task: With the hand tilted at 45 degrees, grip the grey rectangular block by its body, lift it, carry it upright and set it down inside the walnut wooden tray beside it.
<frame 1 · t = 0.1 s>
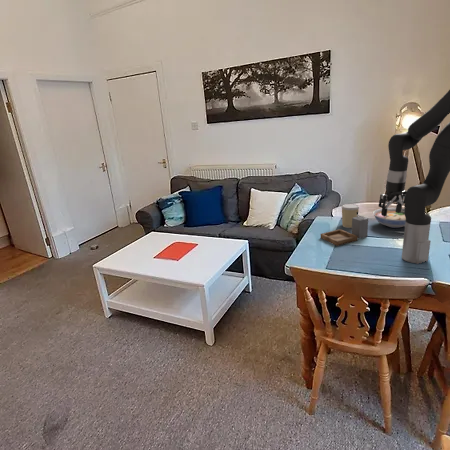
hand: (391, 214, 147), 17 cm above the table, tool pointing down, fingers open, 8 cm apart
grey rectangular block: (359, 235, 170), on the table
coffee cup: (349, 226, 186), on the table
ramen bowl: (393, 226, 180), on the table
tray: (338, 239, 168), on the table
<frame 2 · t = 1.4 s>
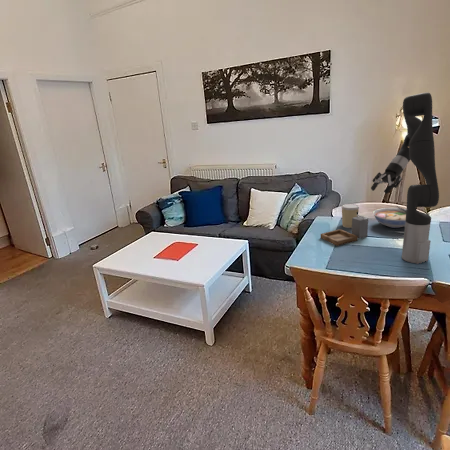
hand: (378, 191, 167), 22 cm above the table, tool tilted 45°, fingers open, 8 cm apart
nothing on the table moved.
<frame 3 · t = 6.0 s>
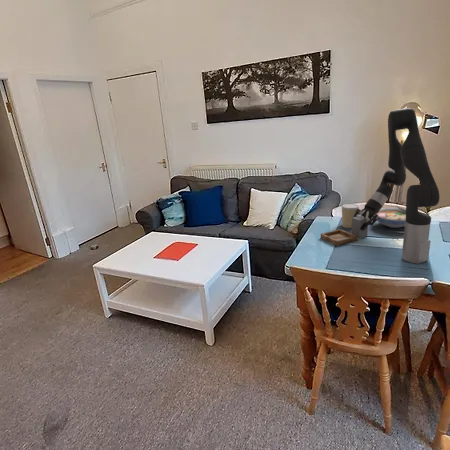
hand: (357, 228, 168), 5 cm above the table, tool tilted 45°, fingers closed on grey rectangular block, 5 cm apart
grey rectangular block: (359, 235, 170), on the table, touching gripper
everything else where it was.
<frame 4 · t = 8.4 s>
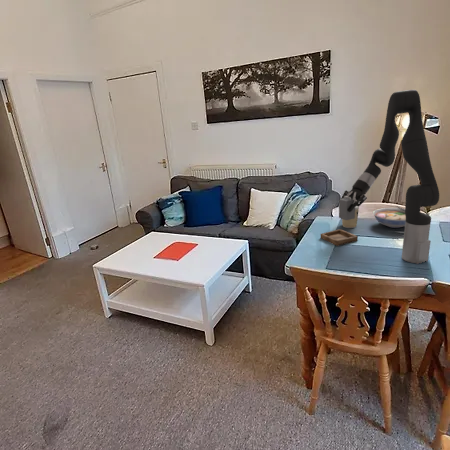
hand: (344, 209, 163), 16 cm above the table, tool tilted 45°, fingers closed on grey rectangular block, 5 cm apart
grey rectangular block: (346, 218, 166), point 11 cm above the table, touching gripper
everything else where it was.
when the fingers open (7 cm above the table, at t = 11.0 s): grey rectangular block drops 2 cm, resting on tray.
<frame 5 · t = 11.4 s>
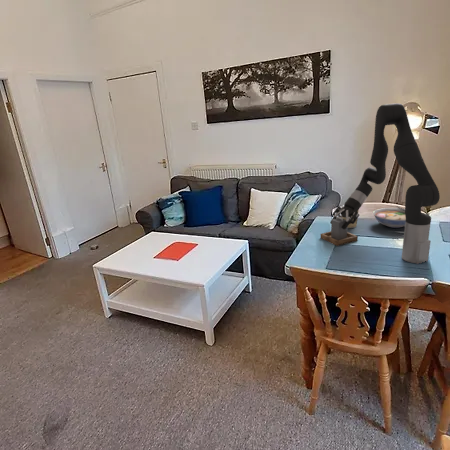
hand: (337, 226, 165), 8 cm above the table, tool tilted 45°, fingers open, 8 cm apart
grey rectangular block: (338, 238, 168), point 1 cm above the table, touching tray
everything else where it was.
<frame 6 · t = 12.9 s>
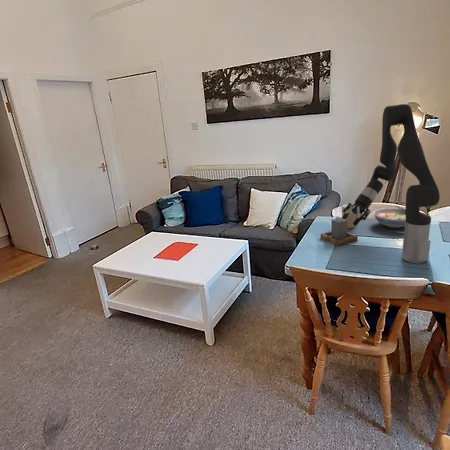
hand: (348, 222, 168), 8 cm above the table, tool tilted 45°, fingers open, 8 cm apart
nothing on the table moved.
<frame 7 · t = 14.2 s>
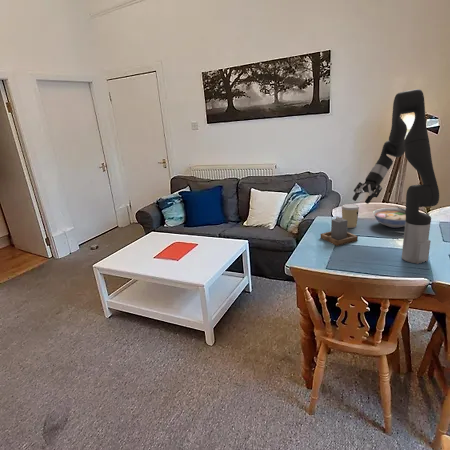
hand: (360, 201, 165), 19 cm above the table, tool tilted 40°, fingers open, 8 cm apart
nothing on the table moved.
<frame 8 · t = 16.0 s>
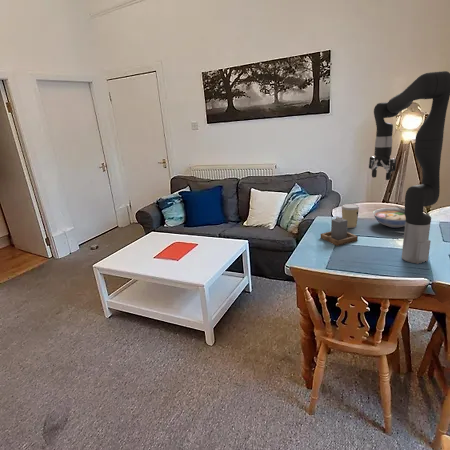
hand: (380, 178, 161), 30 cm above the table, tool pointing down, fingers open, 8 cm apart
nothing on the table moved.
at the end: grey rectangular block inside the target area on the tray (0.1 cm from its centre), point 0.8 cm above the tray's base; grey rectangular block tilted 0°; the gripper is holding nothing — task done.
